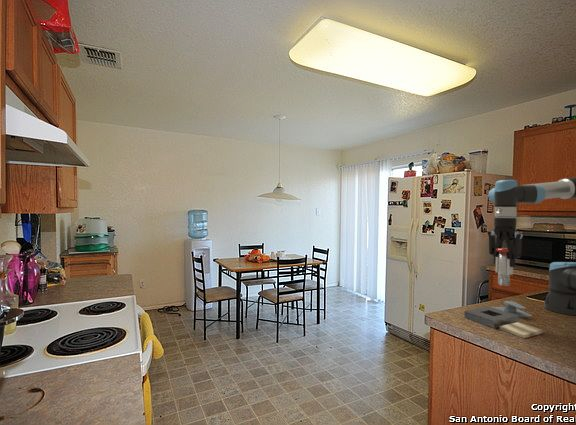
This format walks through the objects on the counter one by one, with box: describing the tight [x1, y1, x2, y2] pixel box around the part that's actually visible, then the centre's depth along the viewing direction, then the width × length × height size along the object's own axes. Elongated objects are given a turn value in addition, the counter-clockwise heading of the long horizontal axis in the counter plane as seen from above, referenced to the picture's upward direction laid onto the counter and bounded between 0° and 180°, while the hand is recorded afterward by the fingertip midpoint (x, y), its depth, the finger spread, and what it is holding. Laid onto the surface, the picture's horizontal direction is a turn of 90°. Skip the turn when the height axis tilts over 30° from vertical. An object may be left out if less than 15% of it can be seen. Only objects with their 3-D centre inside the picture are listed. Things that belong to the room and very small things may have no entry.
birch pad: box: [498, 321, 544, 339], centre depth 122 cm, size 12×9×1 cm
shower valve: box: [491, 300, 533, 318], centre depth 143 cm, size 12×6×15 cm
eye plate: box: [464, 306, 520, 329], centre depth 134 cm, size 16×13×3 cm
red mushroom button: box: [496, 247, 511, 287], centre depth 129 cm, size 6×6×15 cm
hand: (504, 273), depth 129 cm, fingers closed on red mushroom button, 4 cm apart
